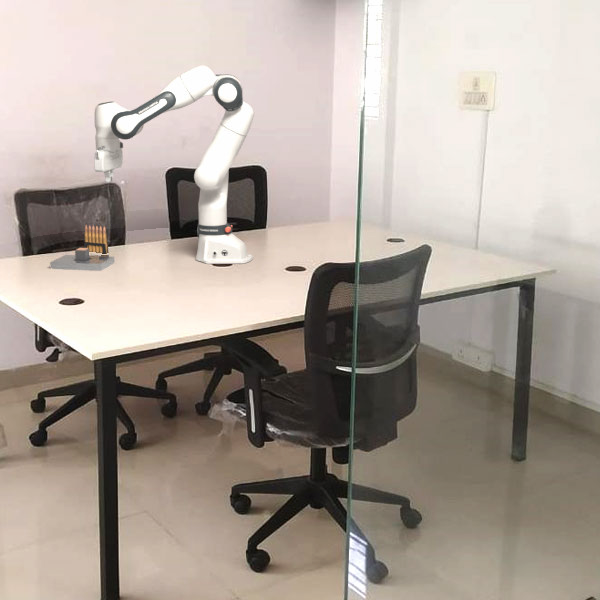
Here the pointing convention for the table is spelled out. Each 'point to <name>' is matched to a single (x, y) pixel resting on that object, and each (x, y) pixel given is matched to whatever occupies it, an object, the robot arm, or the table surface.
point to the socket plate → (82, 263)
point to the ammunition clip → (96, 240)
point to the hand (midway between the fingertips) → (109, 181)
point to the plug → (82, 254)
